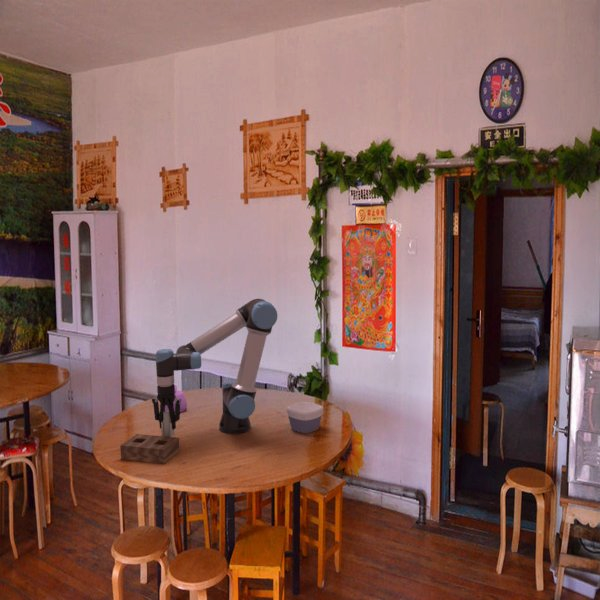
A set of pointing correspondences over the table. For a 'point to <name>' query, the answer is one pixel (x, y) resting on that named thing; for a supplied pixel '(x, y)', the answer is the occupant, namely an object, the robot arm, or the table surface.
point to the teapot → (183, 400)
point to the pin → (166, 423)
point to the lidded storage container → (304, 416)
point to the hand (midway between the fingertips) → (168, 435)
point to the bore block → (150, 448)
